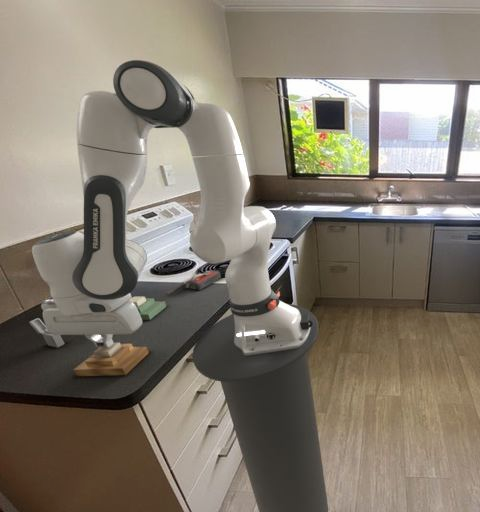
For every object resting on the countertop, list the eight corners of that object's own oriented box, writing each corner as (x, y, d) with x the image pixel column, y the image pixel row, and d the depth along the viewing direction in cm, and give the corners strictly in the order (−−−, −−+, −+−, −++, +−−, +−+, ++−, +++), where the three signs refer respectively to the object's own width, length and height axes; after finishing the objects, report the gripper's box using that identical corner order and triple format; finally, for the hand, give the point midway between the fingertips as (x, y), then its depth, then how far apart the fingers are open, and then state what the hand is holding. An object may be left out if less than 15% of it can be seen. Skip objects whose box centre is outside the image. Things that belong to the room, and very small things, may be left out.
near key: (122, 348, 76) (119, 342, 75) (110, 358, 73) (107, 351, 72) (108, 348, 76) (105, 342, 75) (96, 358, 73) (93, 352, 72)
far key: (146, 301, 98) (144, 296, 97) (138, 307, 95) (136, 301, 94) (135, 301, 98) (133, 296, 97) (127, 307, 95) (125, 302, 94)
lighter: (65, 343, 83) (52, 320, 80) (57, 347, 82) (44, 324, 79) (48, 339, 85) (35, 317, 82) (40, 343, 84) (27, 320, 80)
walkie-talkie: (208, 274, 125) (164, 297, 108) (205, 265, 124) (161, 286, 106) (224, 276, 123) (183, 300, 105) (222, 267, 121) (179, 289, 104)
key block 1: (148, 353, 80) (144, 341, 78) (125, 375, 72) (120, 362, 71) (104, 354, 79) (99, 342, 78) (76, 376, 72) (70, 363, 70)
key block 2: (166, 306, 101) (163, 296, 100) (150, 319, 94) (146, 309, 93) (132, 307, 101) (128, 297, 100) (112, 320, 94) (108, 310, 92)
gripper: (23, 307, 65) (50, 355, 70) (115, 306, 65) (135, 353, 71) (52, 293, 71) (75, 338, 76) (137, 292, 71) (154, 337, 77)
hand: (105, 345), depth 73 cm, fingers closed
